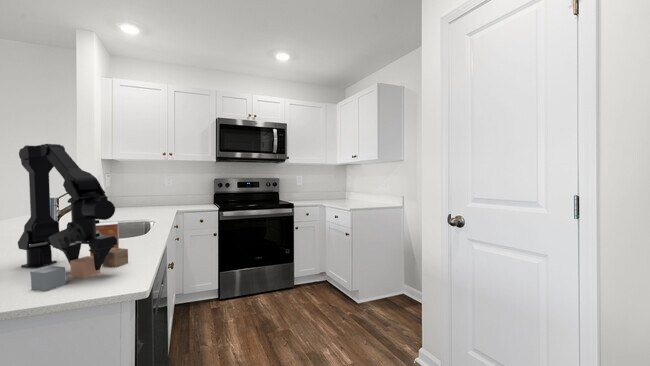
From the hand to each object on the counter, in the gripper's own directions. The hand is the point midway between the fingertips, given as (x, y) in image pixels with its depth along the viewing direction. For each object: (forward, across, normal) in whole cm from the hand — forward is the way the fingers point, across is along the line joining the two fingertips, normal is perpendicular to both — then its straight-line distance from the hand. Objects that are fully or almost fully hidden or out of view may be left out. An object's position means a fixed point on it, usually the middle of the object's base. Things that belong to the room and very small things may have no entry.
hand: (85, 268), depth 92 cm
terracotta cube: (+2, 0, 0) cm, 2 cm away
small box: (+2, -9, +14) cm, 17 cm away
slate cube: (+2, 0, -10) cm, 10 cm away
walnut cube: (+2, 0, +10) cm, 10 cm away
